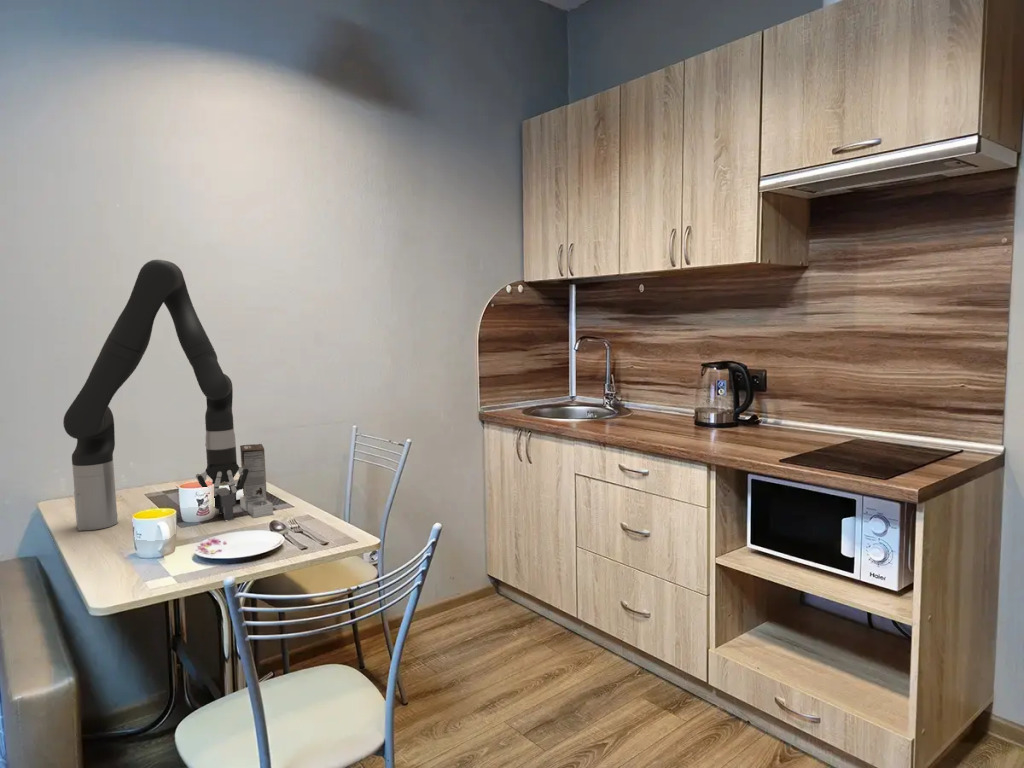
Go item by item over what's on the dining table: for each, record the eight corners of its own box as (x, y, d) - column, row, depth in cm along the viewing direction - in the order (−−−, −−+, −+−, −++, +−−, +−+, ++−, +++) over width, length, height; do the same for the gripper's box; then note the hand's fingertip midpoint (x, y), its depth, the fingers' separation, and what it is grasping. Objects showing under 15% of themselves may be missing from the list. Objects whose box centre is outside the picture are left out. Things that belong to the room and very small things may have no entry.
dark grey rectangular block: (222, 521, 182) (221, 496, 181) (214, 513, 189) (212, 489, 188) (236, 518, 184) (234, 493, 183) (227, 511, 191) (226, 487, 190)
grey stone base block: (253, 517, 185) (253, 504, 184) (240, 507, 195) (239, 495, 195) (273, 514, 188) (272, 501, 187) (259, 504, 198) (258, 492, 198)
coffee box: (242, 496, 207) (239, 445, 206) (264, 494, 210) (262, 443, 208) (244, 503, 199) (241, 450, 197) (267, 501, 202) (264, 448, 200)
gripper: (196, 451, 177) (200, 515, 179) (251, 444, 186) (254, 505, 187) (190, 447, 183) (194, 508, 185) (243, 440, 192) (247, 499, 193)
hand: (224, 506), depth 186 cm, fingers closed on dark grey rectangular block, 3 cm apart
